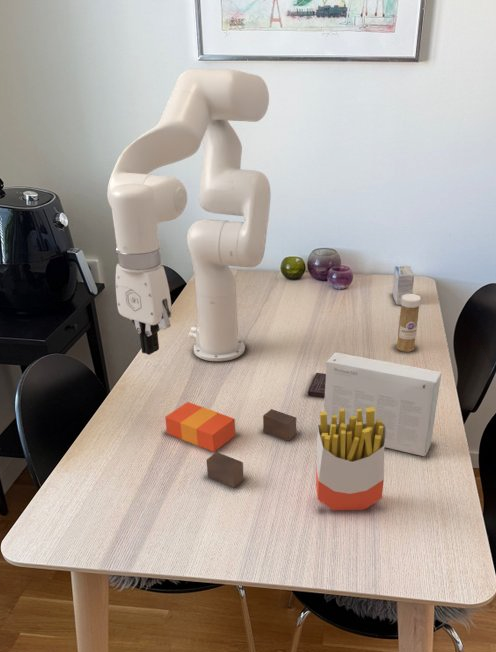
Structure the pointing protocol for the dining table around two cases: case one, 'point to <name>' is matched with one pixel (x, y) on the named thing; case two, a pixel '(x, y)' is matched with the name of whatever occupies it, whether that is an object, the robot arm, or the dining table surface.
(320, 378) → the chocolate bar
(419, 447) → the skincare box
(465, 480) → the dining table surface
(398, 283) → the medicine box
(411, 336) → the sprinkles bottle
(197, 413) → the orange packet
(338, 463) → the french fries container
